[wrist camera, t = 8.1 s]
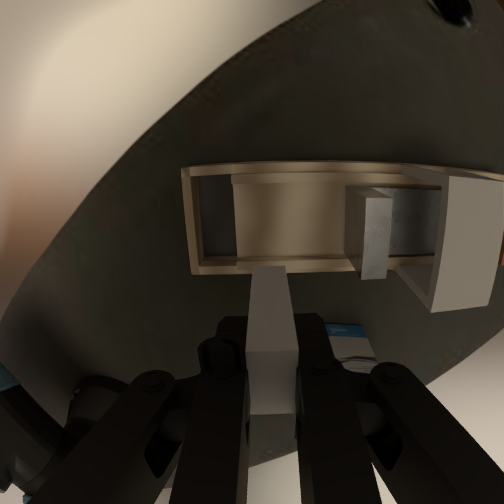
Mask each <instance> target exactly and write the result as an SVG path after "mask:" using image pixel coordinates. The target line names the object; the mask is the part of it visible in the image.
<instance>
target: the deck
mask: <svg viewBox="0 0 504 504" xmlns="http://www.w3.org/2000/svg"><path fill="white" fill-rule="evenodd" d="M401 165H411V166H416V167H421V168H425V169H430V170H434V171H438V172H443V173H446V168H449V169H456V170H461V171H465V172H469V173H474V174H478V175H482V176H486V177H490V178H494V179H497V180H501V181H504V175H502V174H498V173H494V172H488V171H480V170H473V169H464V168H455V167H445V166H434V165H422V164H409V163H393V162H372V161H334V160H295V161H257V162H235V163H218V164H204V165H191V166H186V167H183V168H181V178H182V190H183V201H184V211H185V222H186V231H187V240H188V249H189V258H190V266H191V274H192V275H204V274H252V270H253V267H255V266H285V269H286V273H302V272H334V271H355V269H354V267H353V266H352V264H351V263H350V261H349V259H348V258H347V256H346V255H345V253H344V239H345V211H346V186H384V187H412V188H432V189H442V186H441V185H438V184H435V183H431V182H428V181H425V180H422V179H418V178H415V177H411V176H408V175H404V174H401ZM434 257H435V253H426V254H395V255H388V265H387V269H394V265H418V264H433V263H434Z"/></svg>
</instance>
